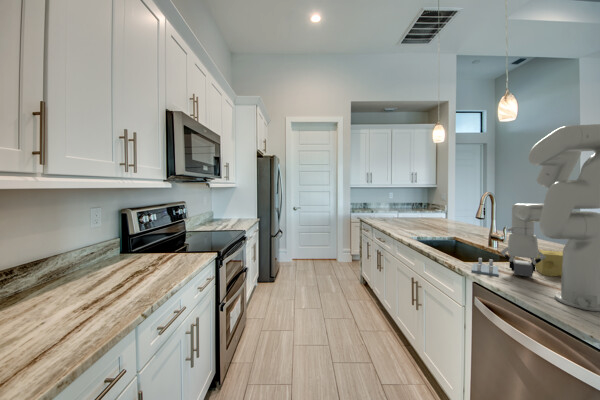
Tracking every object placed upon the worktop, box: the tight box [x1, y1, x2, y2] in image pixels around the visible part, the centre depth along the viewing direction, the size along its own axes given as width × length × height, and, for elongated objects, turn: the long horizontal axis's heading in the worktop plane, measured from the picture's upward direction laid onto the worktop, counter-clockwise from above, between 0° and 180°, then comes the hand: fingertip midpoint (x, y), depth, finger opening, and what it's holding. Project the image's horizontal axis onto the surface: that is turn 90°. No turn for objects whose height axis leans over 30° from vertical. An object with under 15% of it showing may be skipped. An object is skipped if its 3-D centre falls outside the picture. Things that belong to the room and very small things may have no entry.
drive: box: [512, 259, 534, 277], centre depth 116 cm, size 10×6×5 cm, turn 143°
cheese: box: [534, 249, 563, 278], centre depth 118 cm, size 10×11×10 cm
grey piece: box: [471, 257, 500, 277], centre depth 123 cm, size 14×10×4 cm
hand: (522, 270), depth 116 cm, fingers closed on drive, 6 cm apart
